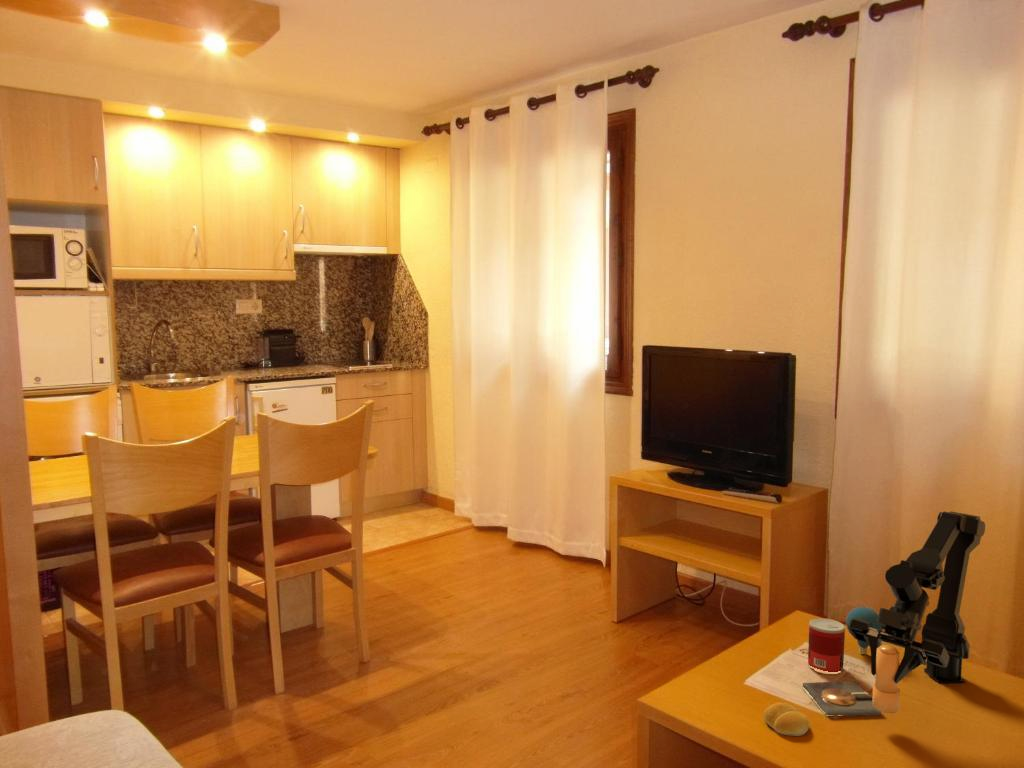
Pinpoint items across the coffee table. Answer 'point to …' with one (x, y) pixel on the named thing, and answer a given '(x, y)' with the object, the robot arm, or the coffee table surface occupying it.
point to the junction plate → (841, 698)
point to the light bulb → (866, 615)
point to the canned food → (826, 644)
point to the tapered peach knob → (886, 680)
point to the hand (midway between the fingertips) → (883, 678)
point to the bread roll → (786, 719)
